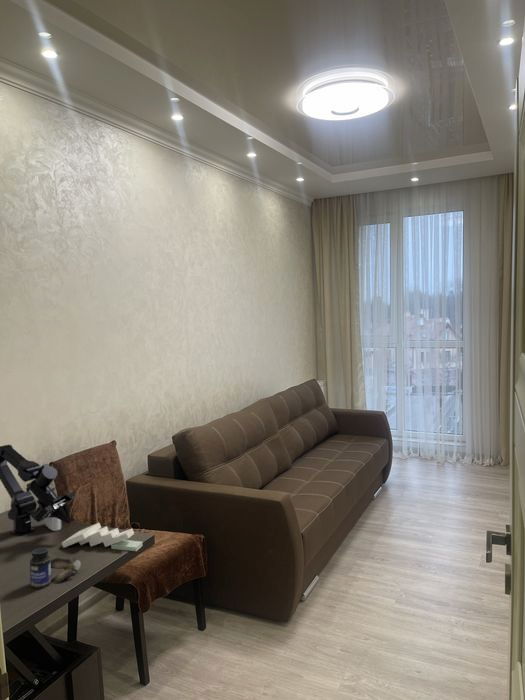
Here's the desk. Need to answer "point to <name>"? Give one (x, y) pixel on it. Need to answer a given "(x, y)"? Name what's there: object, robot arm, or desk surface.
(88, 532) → the domino
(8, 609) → the desk surface
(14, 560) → the desk surface
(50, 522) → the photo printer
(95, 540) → the domino
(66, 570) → the eagle figurine
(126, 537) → the domino
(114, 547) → the domino
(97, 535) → the domino
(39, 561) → the pill bottle
